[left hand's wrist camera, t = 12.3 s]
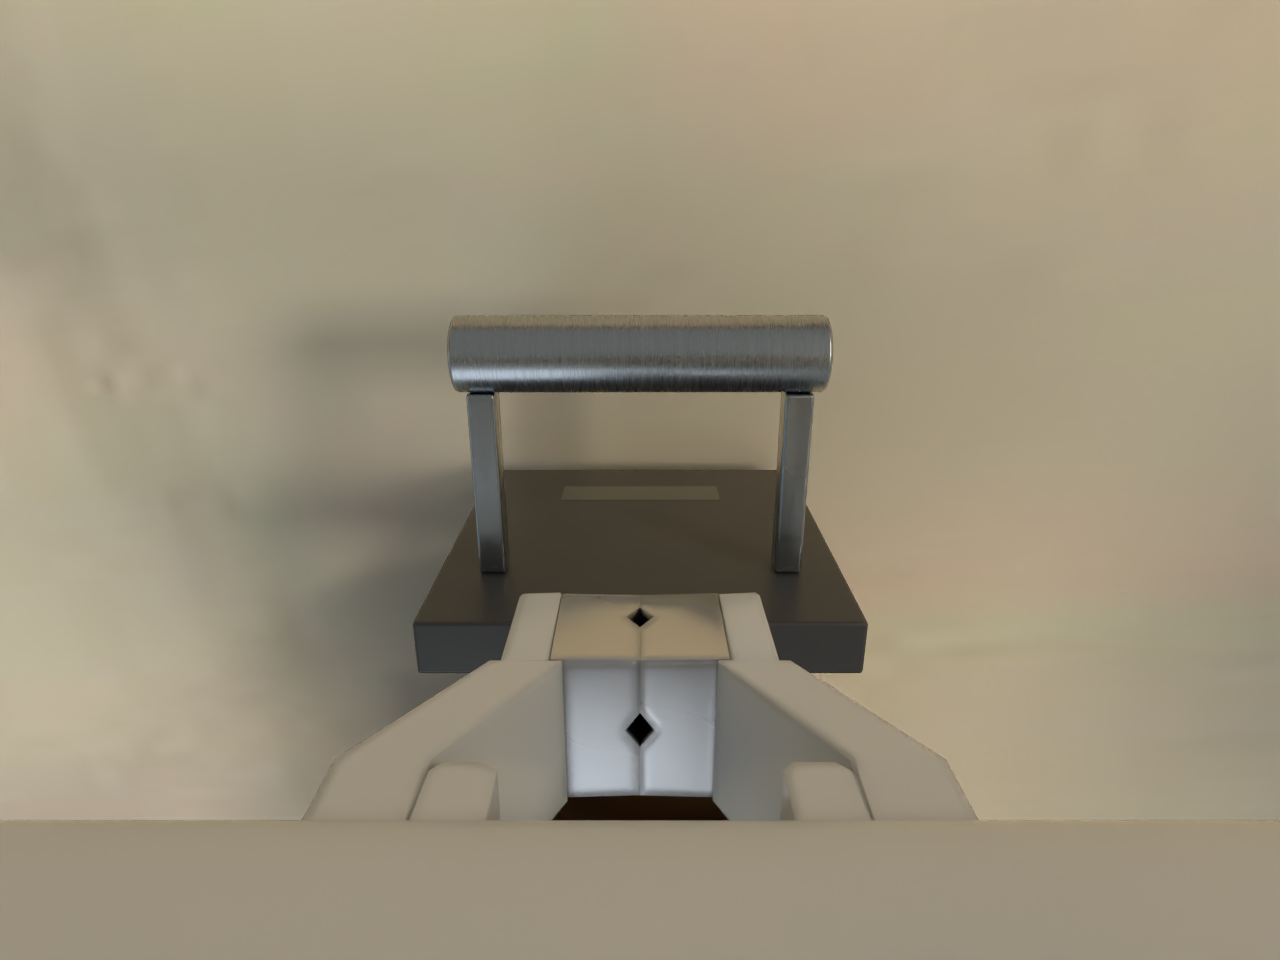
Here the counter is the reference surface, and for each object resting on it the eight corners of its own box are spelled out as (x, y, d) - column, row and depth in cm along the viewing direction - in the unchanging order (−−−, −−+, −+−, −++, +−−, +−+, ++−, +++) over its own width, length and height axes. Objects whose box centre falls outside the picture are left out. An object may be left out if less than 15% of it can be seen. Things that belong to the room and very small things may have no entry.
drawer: (479, 279, 22) (378, 337, 14) (802, 279, 22) (902, 337, 14) (525, 948, 31) (482, 1234, 23) (756, 948, 31) (799, 1235, 23)
